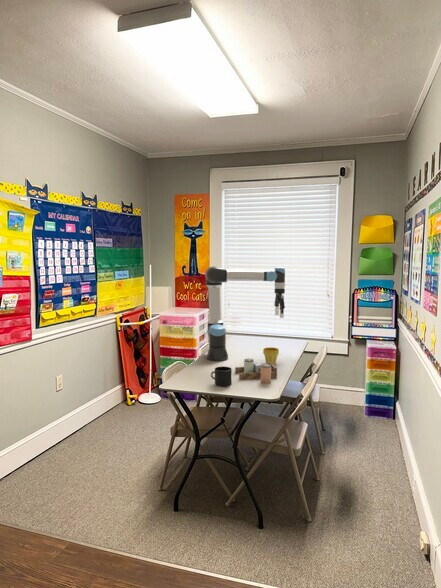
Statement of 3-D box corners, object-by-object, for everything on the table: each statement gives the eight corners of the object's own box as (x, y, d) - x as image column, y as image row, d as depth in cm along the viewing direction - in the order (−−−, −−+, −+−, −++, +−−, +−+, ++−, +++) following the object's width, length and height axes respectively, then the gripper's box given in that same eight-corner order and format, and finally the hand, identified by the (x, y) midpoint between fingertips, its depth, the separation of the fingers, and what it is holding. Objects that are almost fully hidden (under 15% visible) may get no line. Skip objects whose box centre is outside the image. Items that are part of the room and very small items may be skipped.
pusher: (256, 377, 240) (256, 365, 240) (252, 372, 251) (252, 361, 251) (262, 377, 241) (262, 365, 240) (257, 371, 252) (257, 360, 251)
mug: (213, 380, 235) (213, 365, 234) (233, 382, 231) (233, 367, 231) (208, 385, 226) (207, 369, 226) (228, 387, 222) (228, 371, 222)
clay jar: (261, 383, 229) (262, 366, 228) (259, 380, 235) (259, 364, 234) (272, 383, 230) (272, 366, 229) (269, 380, 236) (269, 363, 235)
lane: (239, 379, 237) (239, 369, 237) (235, 372, 251) (235, 363, 251) (276, 377, 240) (276, 367, 240) (270, 371, 255) (270, 361, 254)
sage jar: (245, 377, 242) (245, 361, 241) (243, 374, 248) (243, 358, 247) (254, 376, 243) (255, 360, 242) (252, 373, 249) (252, 358, 248)
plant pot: (266, 365, 268) (266, 351, 267) (260, 361, 278) (261, 347, 277) (281, 364, 270) (281, 350, 270) (274, 360, 280) (275, 346, 279)
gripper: (289, 289, 289) (288, 318, 290) (280, 286, 313) (279, 314, 315) (279, 289, 288) (278, 319, 290) (270, 286, 312) (270, 314, 314)
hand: (279, 316), depth 302 cm, fingers open, 13 cm apart
